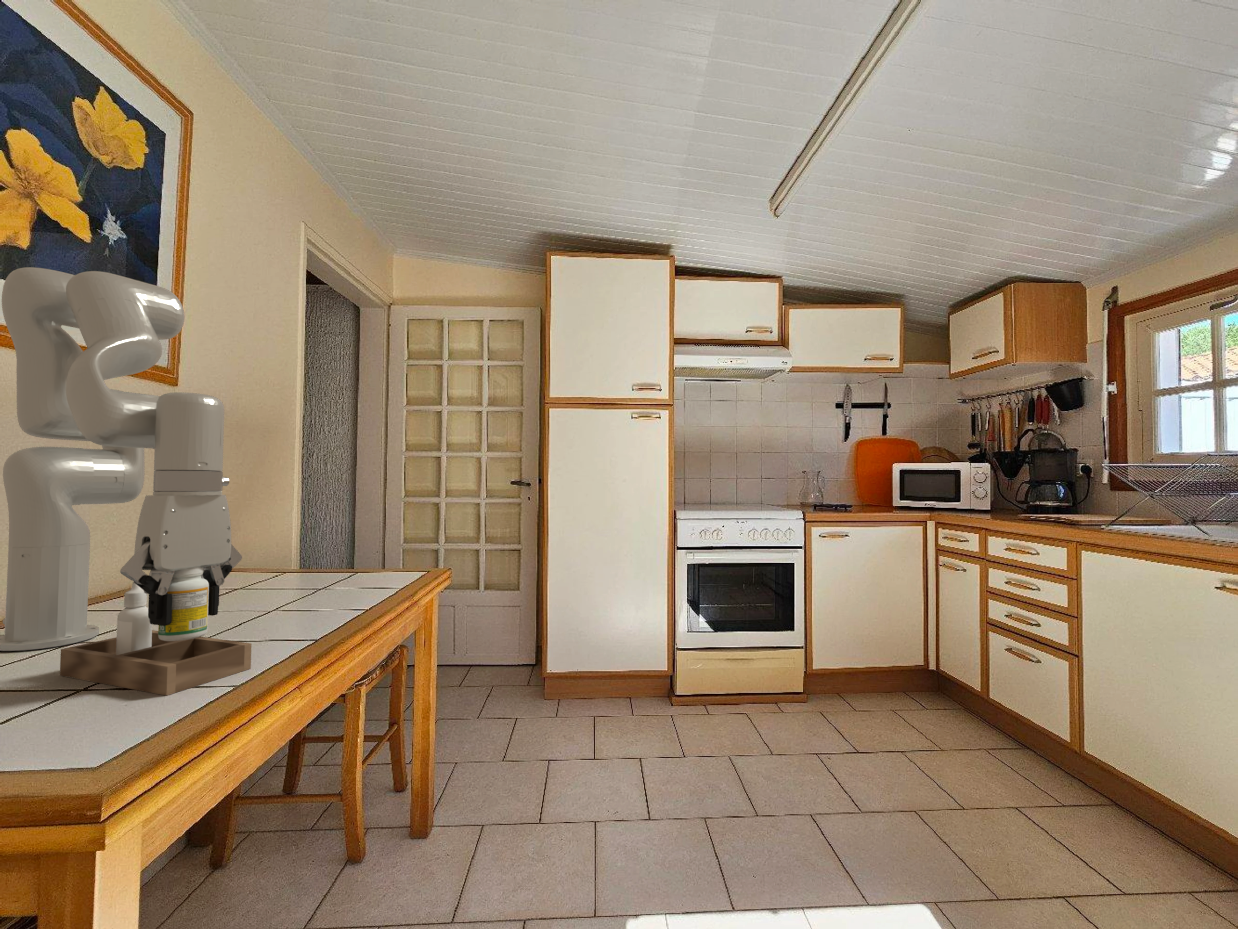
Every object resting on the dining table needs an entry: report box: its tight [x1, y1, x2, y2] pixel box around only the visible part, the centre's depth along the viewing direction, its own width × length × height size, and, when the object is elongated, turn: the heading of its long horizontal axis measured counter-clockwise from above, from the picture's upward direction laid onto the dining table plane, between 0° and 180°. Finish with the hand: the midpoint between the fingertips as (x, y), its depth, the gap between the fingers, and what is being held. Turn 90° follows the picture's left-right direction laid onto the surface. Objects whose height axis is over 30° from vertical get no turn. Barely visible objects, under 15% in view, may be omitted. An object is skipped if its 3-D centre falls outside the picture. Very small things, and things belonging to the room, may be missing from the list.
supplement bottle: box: [157, 567, 209, 641], centre depth 78 cm, size 5×5×10 cm
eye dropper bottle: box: [116, 581, 153, 655], centre depth 81 cm, size 4×6×12 cm
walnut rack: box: [59, 629, 252, 696], centre depth 79 cm, size 21×11×4 cm, turn 71°
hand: (184, 618), depth 78 cm, fingers closed on supplement bottle, 5 cm apart
